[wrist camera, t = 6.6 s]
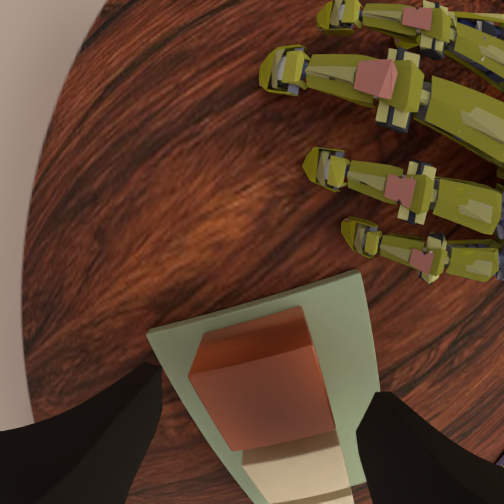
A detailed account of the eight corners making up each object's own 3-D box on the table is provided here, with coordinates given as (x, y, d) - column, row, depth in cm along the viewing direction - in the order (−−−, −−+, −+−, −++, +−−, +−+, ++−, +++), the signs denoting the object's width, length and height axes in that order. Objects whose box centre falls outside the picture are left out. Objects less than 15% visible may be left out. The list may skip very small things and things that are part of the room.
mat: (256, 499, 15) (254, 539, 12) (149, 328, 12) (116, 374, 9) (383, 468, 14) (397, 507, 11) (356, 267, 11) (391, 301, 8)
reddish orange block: (236, 404, 12) (231, 452, 9) (202, 332, 11) (185, 376, 8) (323, 382, 12) (336, 429, 9) (301, 304, 11) (314, 344, 8)
